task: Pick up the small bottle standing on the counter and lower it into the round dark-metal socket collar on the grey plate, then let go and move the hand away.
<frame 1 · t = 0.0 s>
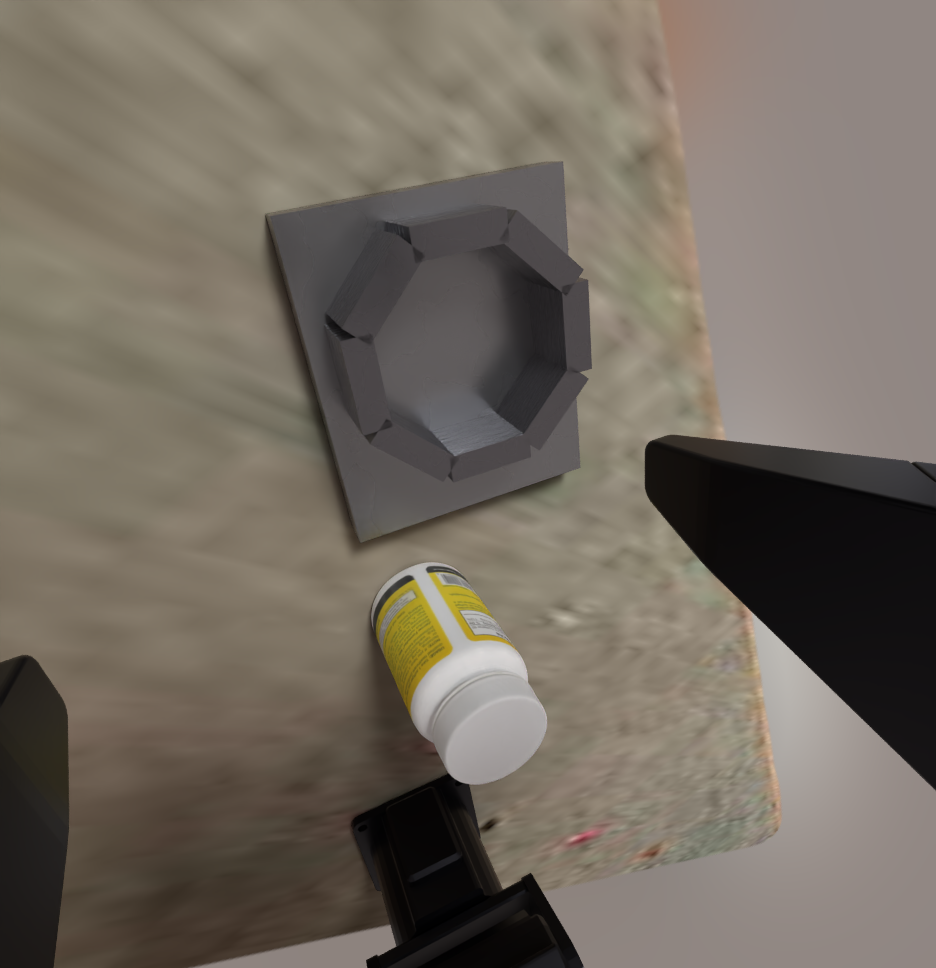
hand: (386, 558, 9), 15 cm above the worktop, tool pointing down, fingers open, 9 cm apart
supplement bottle: (418, 601, 29), on the worktop
socket plate: (443, 357, 24), on the worktop
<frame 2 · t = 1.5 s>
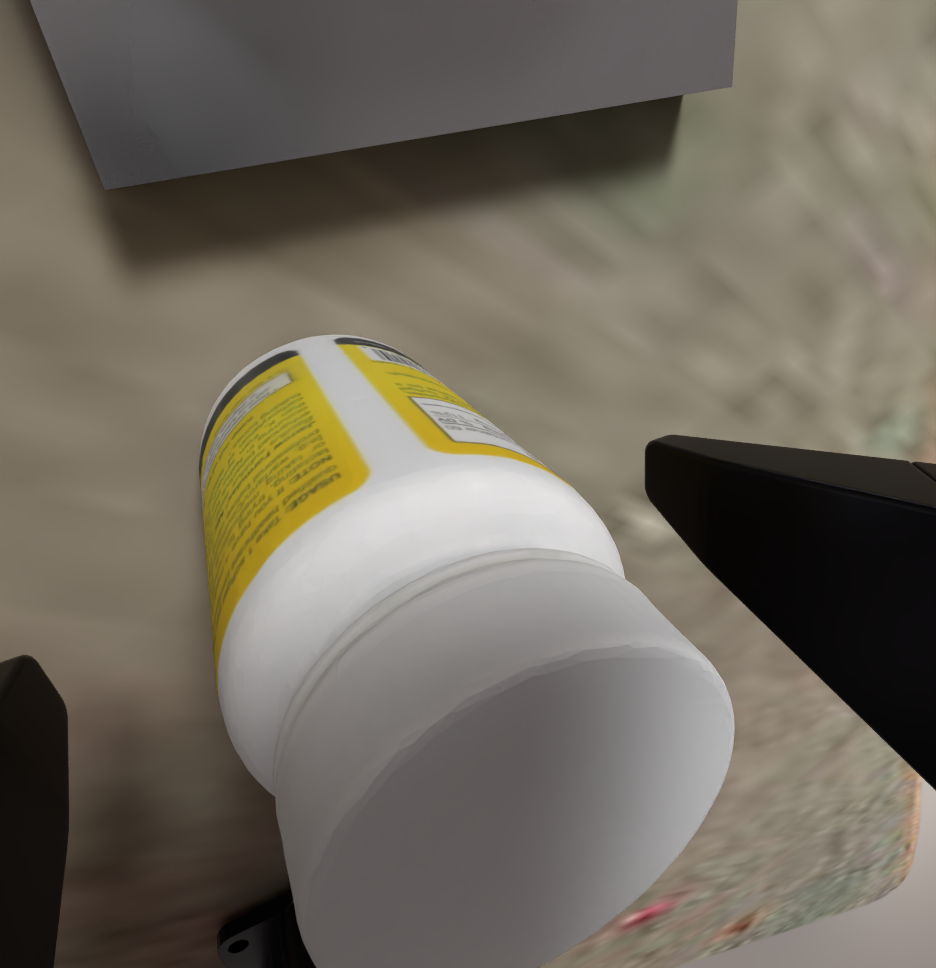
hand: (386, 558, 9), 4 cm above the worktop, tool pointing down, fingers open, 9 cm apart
supplement bottle: (331, 449, 12), on the worktop
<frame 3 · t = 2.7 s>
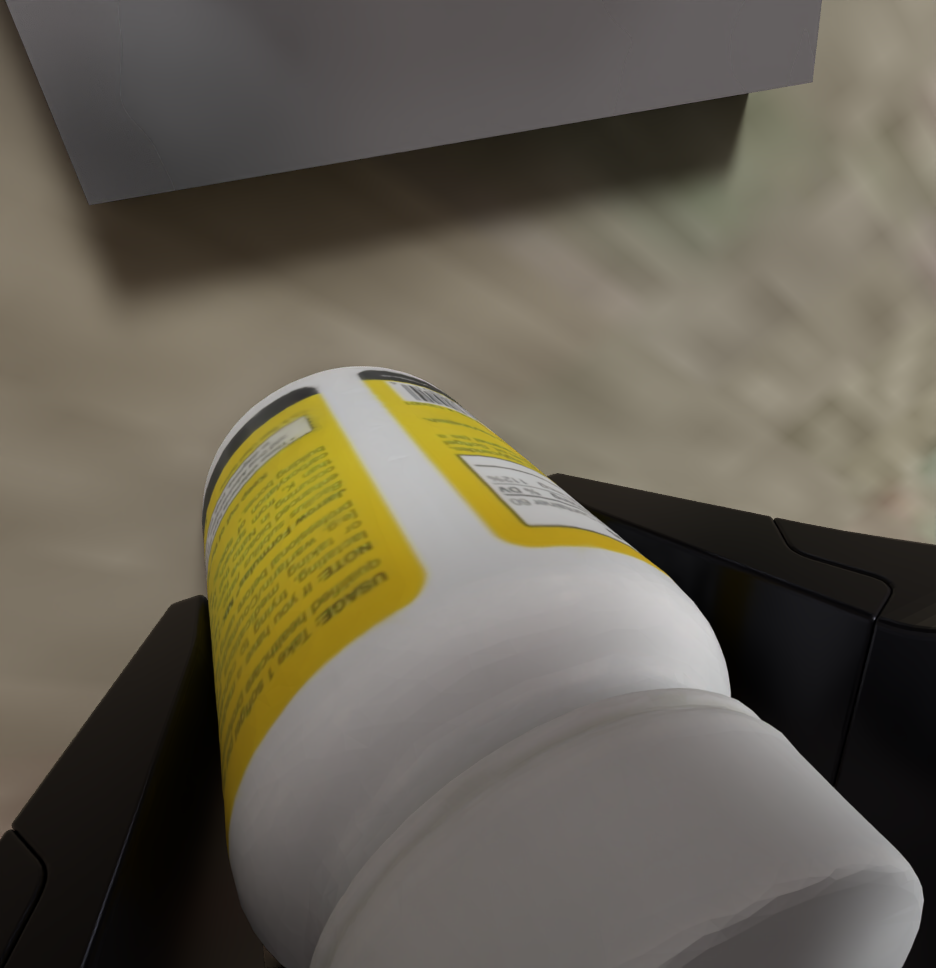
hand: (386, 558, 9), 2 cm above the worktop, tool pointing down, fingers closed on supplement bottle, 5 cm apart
supplement bottle: (351, 491, 11), on the worktop, touching gripper
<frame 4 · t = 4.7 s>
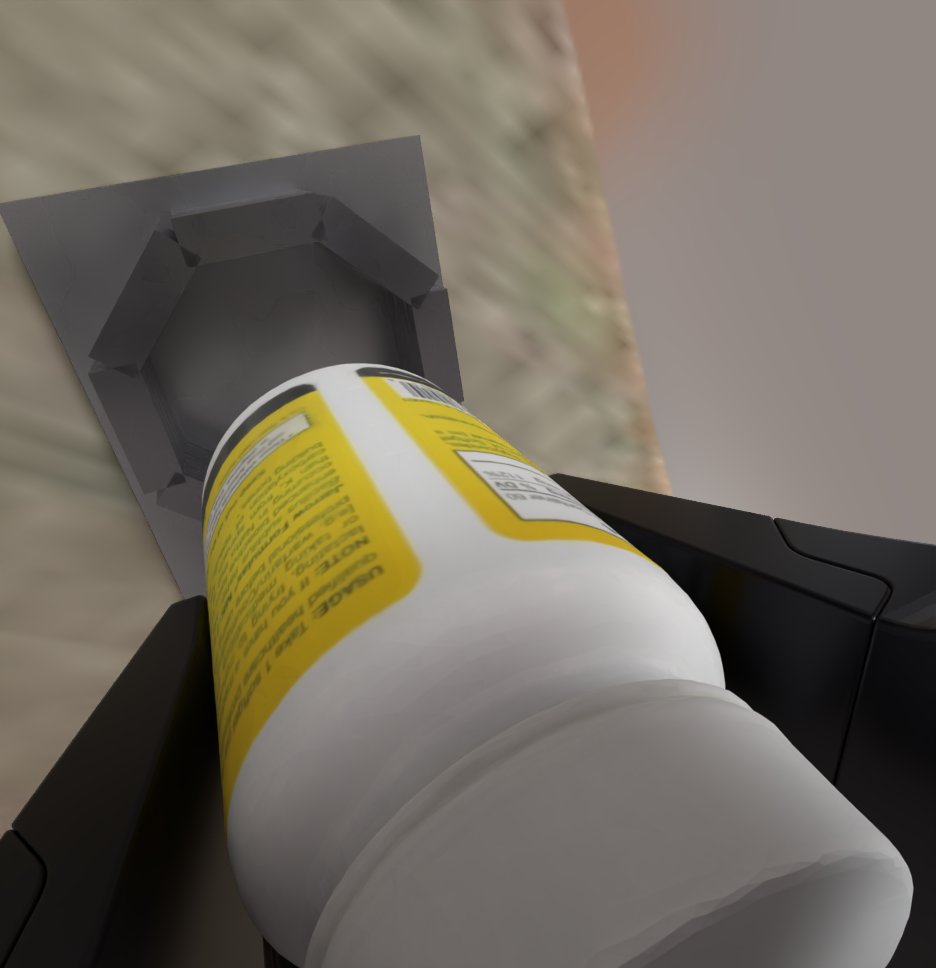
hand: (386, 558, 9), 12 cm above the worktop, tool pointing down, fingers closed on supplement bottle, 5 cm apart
supplement bottle: (349, 488, 11), point 9 cm above the worktop, touching gripper
socket plate: (289, 384, 19), on the worktop
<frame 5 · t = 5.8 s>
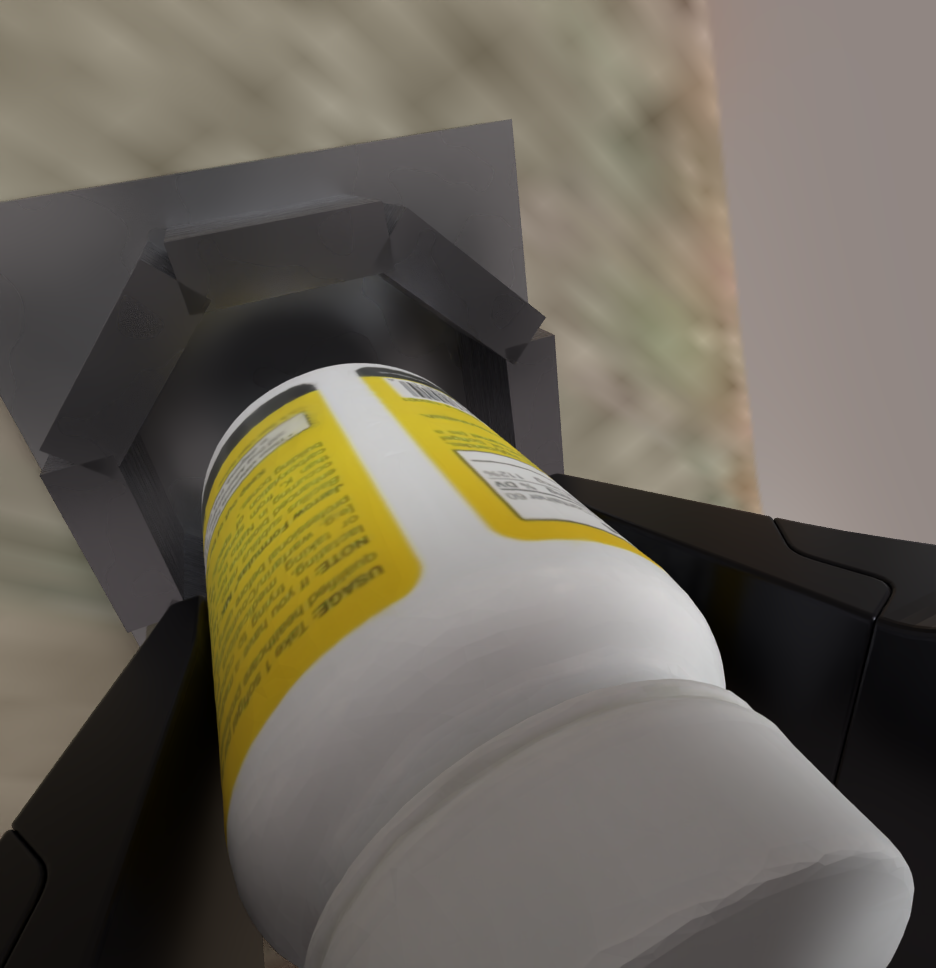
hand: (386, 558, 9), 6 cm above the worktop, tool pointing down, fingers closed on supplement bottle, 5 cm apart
supplement bottle: (349, 488, 11), point 4 cm above the worktop, touching gripper
socket plate: (322, 449, 14), on the worktop
when the fingers open (4 cm above the worktop, at t = 6.7 s): supplement bottle stays where it is, resting on socket plate.
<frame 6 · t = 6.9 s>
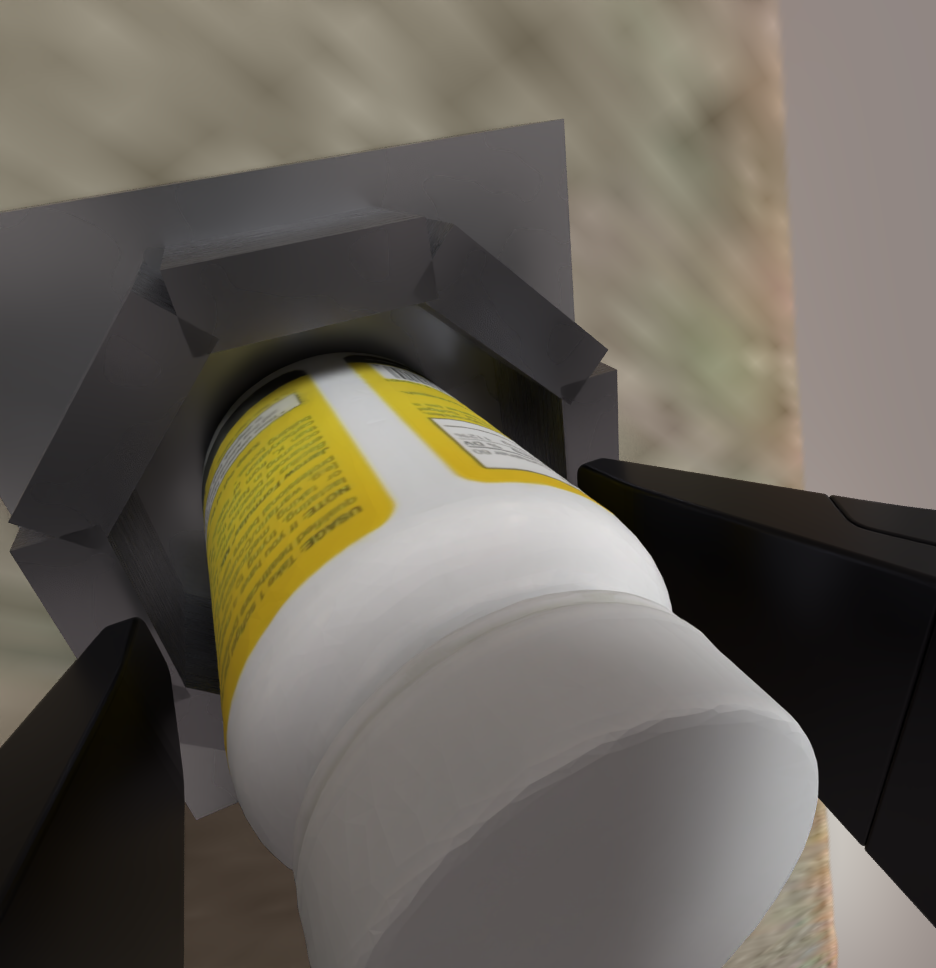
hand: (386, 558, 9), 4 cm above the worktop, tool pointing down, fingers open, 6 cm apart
supplement bottle: (340, 472, 12), point 1 cm above the worktop, touching socket plate
socket plate: (341, 491, 13), on the worktop
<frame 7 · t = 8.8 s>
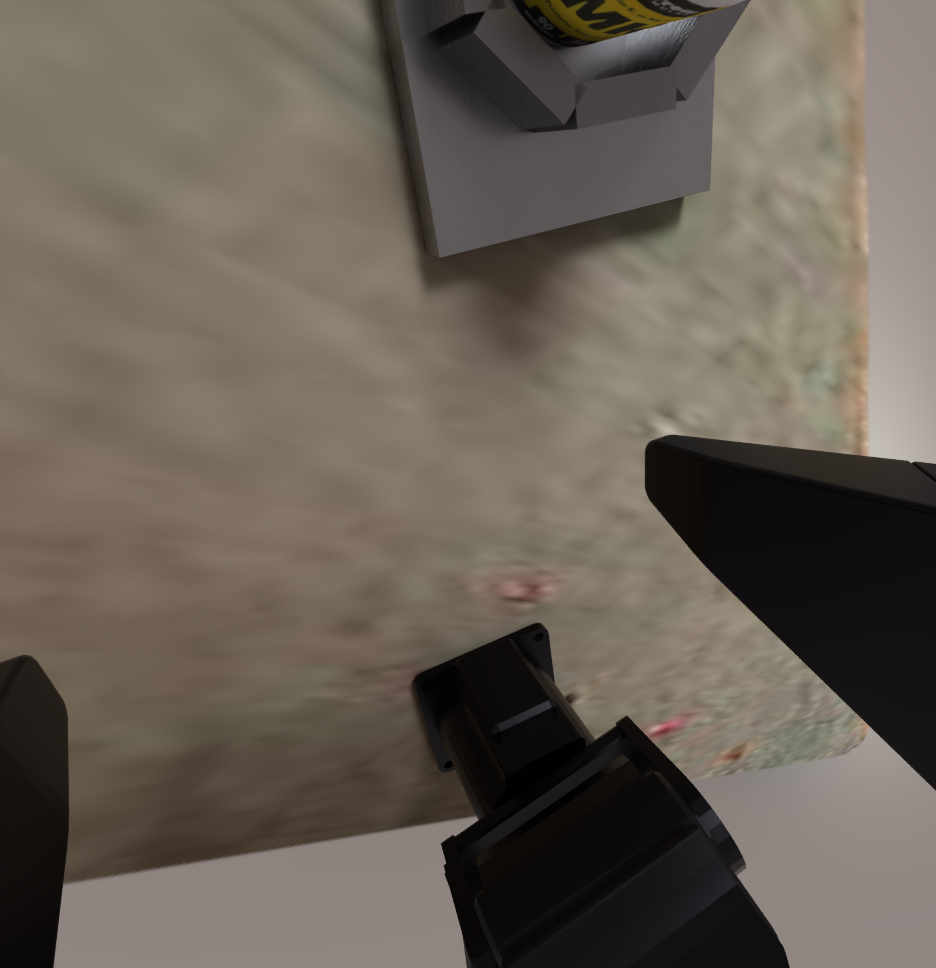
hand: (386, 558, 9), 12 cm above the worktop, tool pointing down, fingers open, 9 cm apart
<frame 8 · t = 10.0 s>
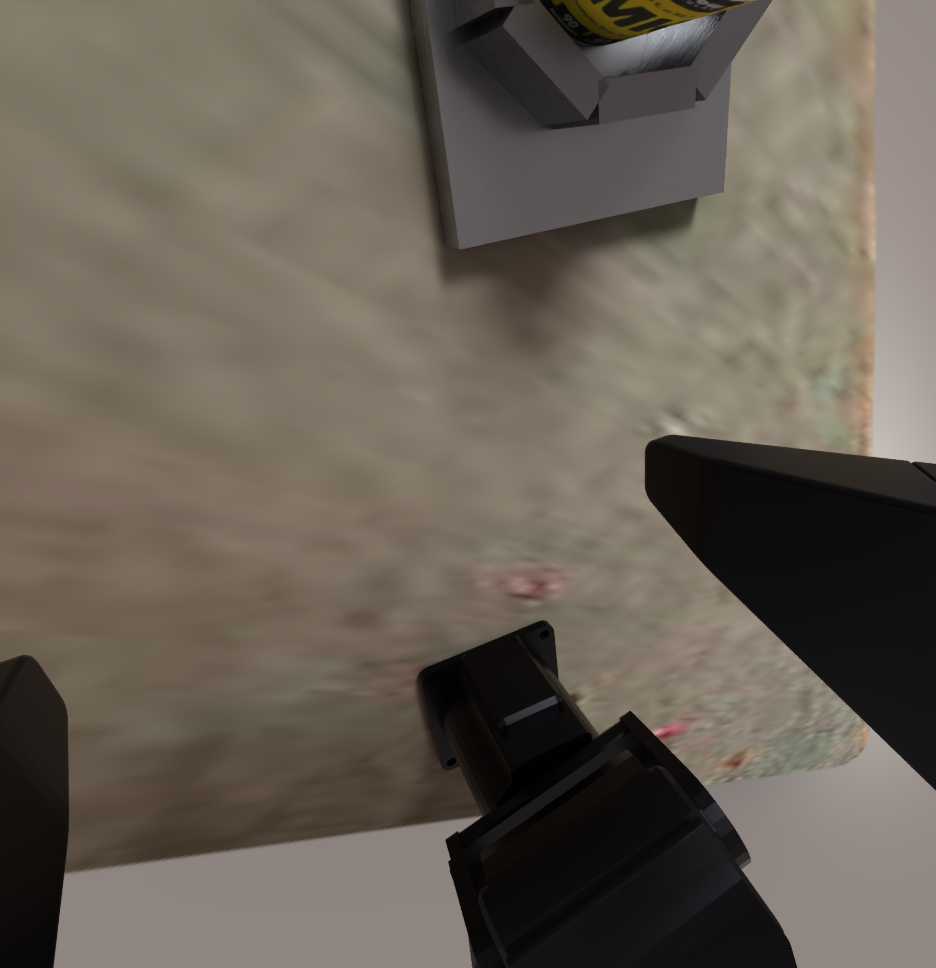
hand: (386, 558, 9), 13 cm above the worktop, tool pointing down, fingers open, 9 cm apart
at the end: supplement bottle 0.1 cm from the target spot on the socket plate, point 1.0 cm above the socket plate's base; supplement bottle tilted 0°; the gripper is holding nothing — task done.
